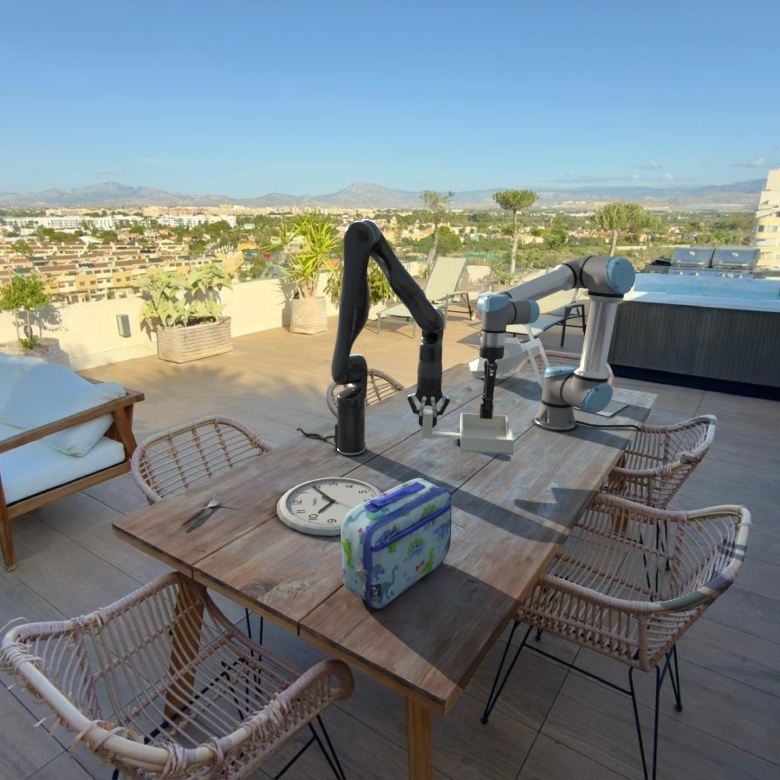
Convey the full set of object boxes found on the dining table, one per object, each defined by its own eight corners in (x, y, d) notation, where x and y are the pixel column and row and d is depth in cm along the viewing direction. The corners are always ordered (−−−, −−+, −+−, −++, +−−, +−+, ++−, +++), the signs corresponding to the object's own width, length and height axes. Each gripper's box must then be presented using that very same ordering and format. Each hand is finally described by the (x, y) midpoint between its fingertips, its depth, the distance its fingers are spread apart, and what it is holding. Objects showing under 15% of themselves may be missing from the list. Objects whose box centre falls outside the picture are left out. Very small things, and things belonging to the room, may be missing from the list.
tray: (506, 428, 173) (508, 405, 171) (512, 454, 153) (515, 429, 150) (424, 423, 176) (425, 400, 173) (420, 448, 156) (421, 423, 153)
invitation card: (608, 416, 214) (573, 407, 224) (608, 416, 214) (573, 407, 224) (627, 404, 229) (594, 396, 238) (627, 405, 229) (594, 397, 239)
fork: (176, 526, 131) (176, 519, 130) (217, 497, 145) (217, 491, 145) (185, 528, 130) (184, 521, 130) (225, 499, 145) (224, 492, 144)
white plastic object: (489, 418, 267) (470, 395, 242) (471, 346, 289) (451, 318, 264) (561, 394, 254) (547, 368, 230) (535, 321, 277) (521, 289, 252)
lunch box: (370, 622, 101) (370, 527, 94) (335, 595, 108) (333, 505, 102) (455, 565, 118) (460, 481, 112) (420, 544, 125) (423, 465, 119)
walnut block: (491, 415, 171) (493, 400, 169) (492, 419, 167) (493, 404, 165) (479, 414, 171) (480, 399, 170) (479, 418, 167) (481, 403, 166)
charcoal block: (468, 441, 187) (469, 428, 186) (468, 446, 183) (469, 432, 182) (457, 440, 187) (458, 427, 186) (457, 445, 184) (458, 432, 182)
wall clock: (392, 527, 129) (269, 531, 127) (392, 533, 130) (269, 537, 127) (383, 473, 158) (282, 475, 155) (383, 478, 158) (283, 480, 156)
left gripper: (452, 371, 162) (449, 423, 168) (407, 369, 164) (406, 421, 169) (452, 378, 155) (449, 432, 161) (405, 376, 157) (404, 429, 162)
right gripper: (479, 339, 171) (473, 406, 177) (481, 350, 154) (475, 424, 161) (502, 340, 170) (496, 408, 177) (506, 351, 154) (499, 426, 160)
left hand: (427, 426), depth 165 cm, fingers closed on tray, 3 cm apart
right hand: (486, 415), depth 169 cm, fingers closed on walnut block, 4 cm apart
